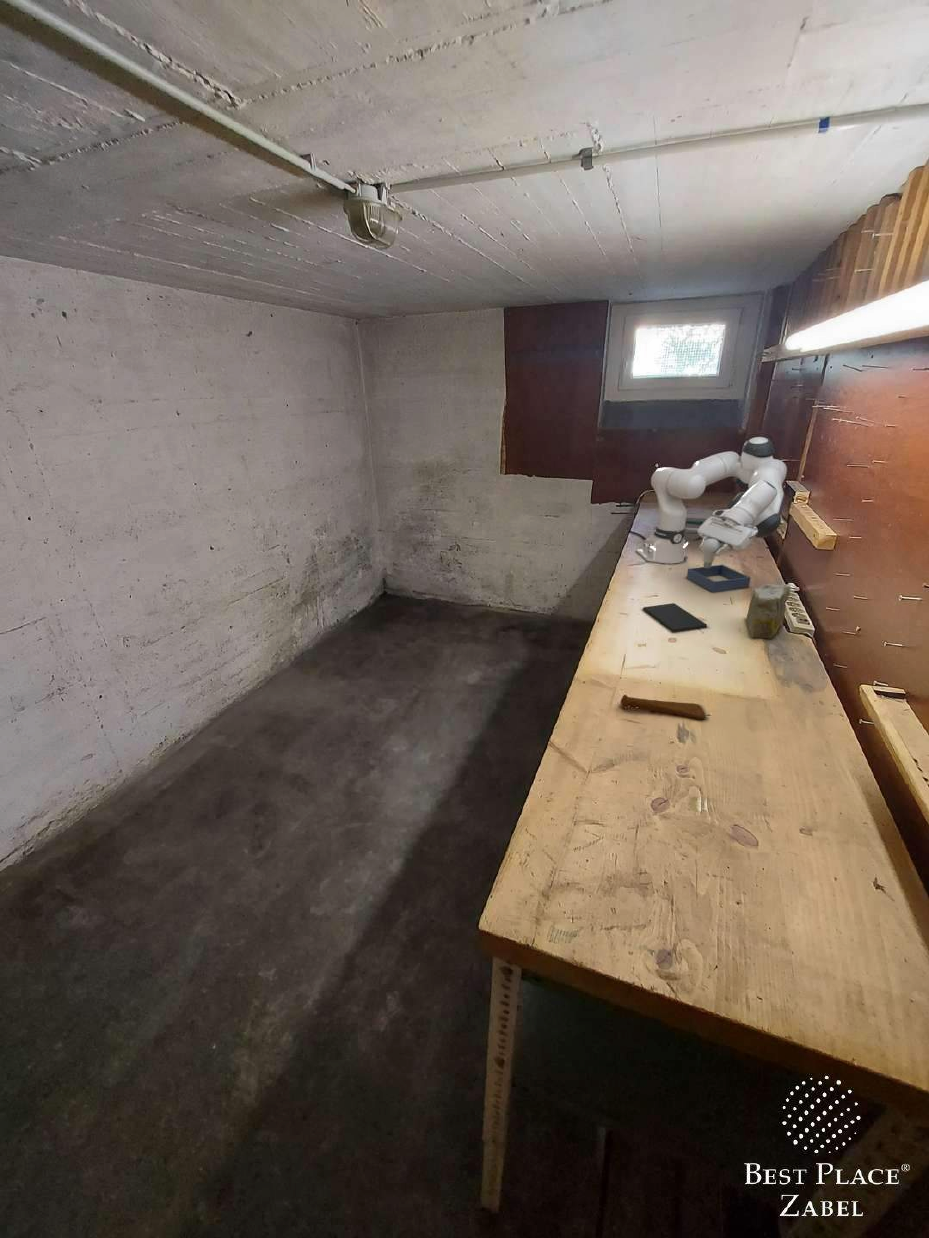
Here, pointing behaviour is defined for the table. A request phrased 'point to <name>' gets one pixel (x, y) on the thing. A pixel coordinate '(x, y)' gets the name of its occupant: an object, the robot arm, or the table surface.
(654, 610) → the mat
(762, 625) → the stone block
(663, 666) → the table surface
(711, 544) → the lightbulb
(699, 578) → the blue square tray
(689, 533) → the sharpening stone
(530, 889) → the table surface
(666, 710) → the primitive tool
